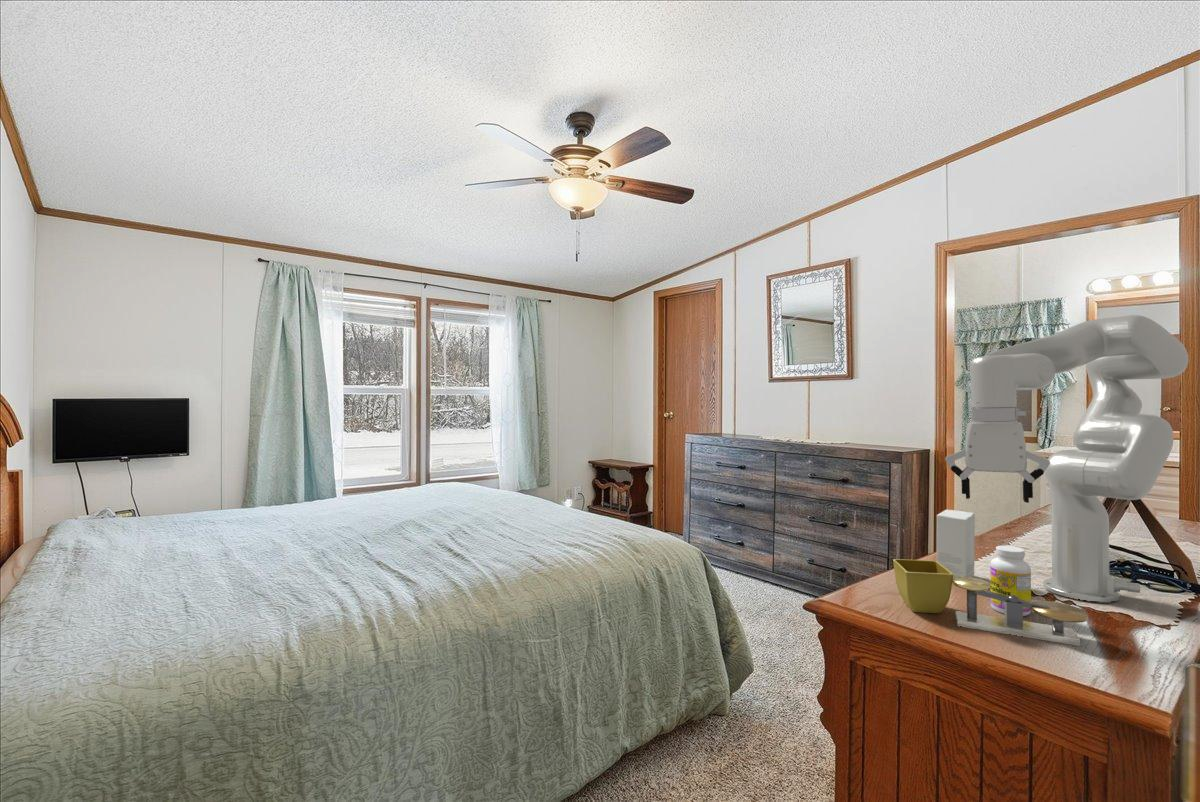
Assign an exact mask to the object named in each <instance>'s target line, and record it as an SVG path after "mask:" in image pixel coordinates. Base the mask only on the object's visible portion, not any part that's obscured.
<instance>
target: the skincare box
mask: <svg viewBox="0 0 1200 802" xmlns="http://www.w3.org/2000/svg"><path fill="white" fill-rule="evenodd" d="M975 517H976V514H975V512H969V511H961V510H955V509H948V508H947V509H945V510H942V511H941V512H939V513H938V514H936V561H937V562H939V563H940V564H941V565H943V566H944V567H945V568H946V569H948V570H949V571H950V572H952V573H953V578H955V577H973V578H974V576H975V535H976V534H975V528H976V527H975V522H976V520H975V519H976V518H975Z"/></svg>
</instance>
